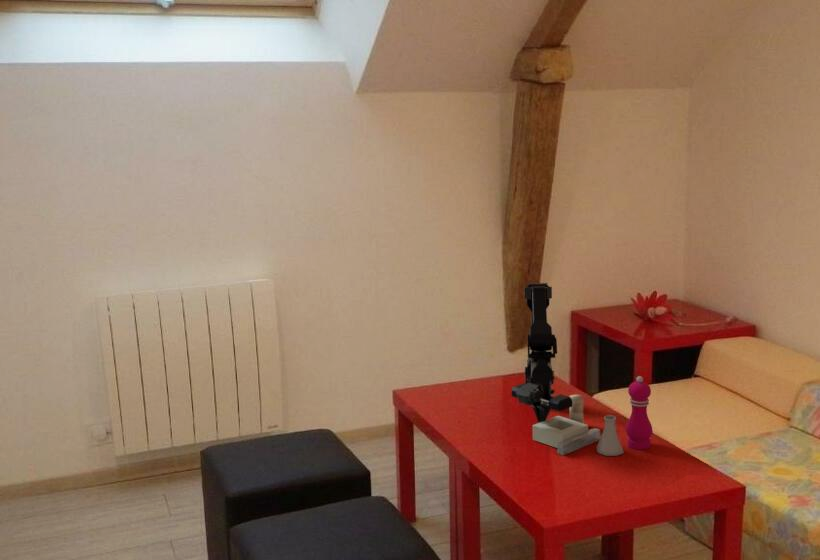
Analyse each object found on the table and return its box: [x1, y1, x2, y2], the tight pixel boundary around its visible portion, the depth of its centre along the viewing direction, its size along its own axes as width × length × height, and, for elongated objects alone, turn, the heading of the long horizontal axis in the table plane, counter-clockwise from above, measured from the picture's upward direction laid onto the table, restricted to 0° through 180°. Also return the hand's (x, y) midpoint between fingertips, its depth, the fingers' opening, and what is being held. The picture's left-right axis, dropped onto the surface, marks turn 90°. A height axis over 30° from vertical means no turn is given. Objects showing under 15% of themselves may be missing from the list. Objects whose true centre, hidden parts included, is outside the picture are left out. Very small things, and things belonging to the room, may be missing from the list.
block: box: [532, 415, 589, 449], centre depth 251 cm, size 11×11×4 cm
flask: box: [596, 414, 624, 457], centre depth 242 cm, size 7×7×10 cm
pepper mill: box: [625, 375, 654, 451], centre depth 244 cm, size 7×7×20 cm
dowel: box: [568, 394, 584, 424], centre depth 262 cm, size 4×4×9 cm
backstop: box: [556, 427, 601, 456], centre depth 247 cm, size 2×16×3 cm, turn 130°
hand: (541, 424), depth 257 cm, fingers closed
